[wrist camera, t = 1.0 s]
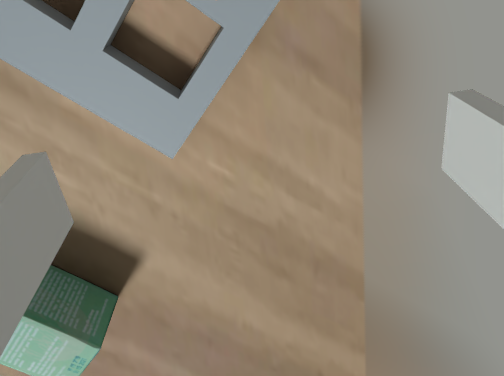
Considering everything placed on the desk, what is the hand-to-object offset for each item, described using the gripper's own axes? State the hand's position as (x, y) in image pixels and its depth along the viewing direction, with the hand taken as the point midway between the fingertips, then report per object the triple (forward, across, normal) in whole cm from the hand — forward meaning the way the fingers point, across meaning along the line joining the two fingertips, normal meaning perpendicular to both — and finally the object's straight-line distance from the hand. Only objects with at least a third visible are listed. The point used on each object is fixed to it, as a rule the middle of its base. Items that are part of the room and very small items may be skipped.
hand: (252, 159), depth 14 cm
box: (+24, -24, -22) cm, 40 cm away
